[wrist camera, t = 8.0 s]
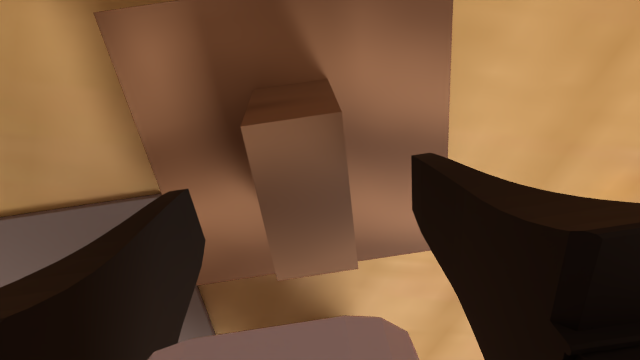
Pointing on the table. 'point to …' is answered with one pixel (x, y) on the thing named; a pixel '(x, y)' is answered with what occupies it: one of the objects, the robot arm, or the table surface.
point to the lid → (288, 122)
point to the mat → (76, 246)
